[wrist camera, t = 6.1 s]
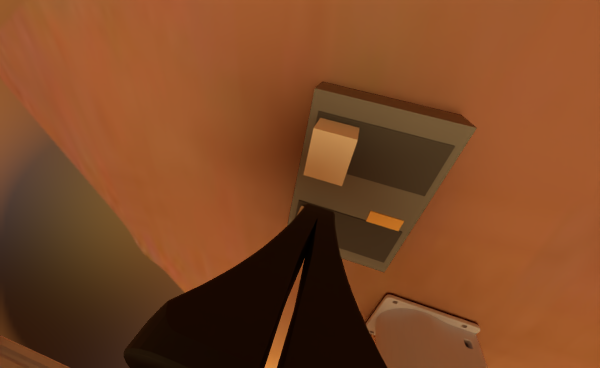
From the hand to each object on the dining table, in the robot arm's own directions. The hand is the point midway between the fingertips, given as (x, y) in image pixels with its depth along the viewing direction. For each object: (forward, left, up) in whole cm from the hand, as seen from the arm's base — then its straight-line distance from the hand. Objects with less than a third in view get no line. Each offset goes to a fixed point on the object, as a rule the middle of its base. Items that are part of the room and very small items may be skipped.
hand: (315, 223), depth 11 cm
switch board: (-2, +2, -8) cm, 9 cm away
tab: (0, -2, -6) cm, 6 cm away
